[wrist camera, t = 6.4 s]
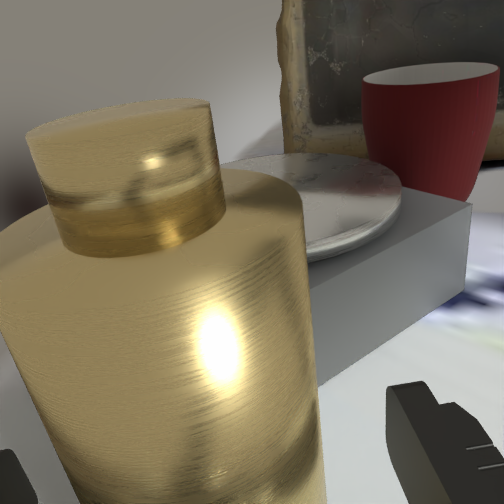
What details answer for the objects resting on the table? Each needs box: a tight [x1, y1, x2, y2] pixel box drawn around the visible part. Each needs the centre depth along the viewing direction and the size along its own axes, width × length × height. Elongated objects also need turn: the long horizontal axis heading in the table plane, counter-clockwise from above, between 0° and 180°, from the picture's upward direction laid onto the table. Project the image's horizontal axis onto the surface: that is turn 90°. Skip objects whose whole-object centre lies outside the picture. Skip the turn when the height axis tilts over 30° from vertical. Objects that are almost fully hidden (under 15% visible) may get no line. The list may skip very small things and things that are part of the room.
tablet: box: [276, 0, 504, 161], centre depth 40 cm, size 33×14×25 cm, turn 87°
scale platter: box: [220, 153, 402, 263], centre depth 24 cm, size 13×13×1 cm
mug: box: [361, 62, 500, 202], centre depth 32 cm, size 10×8×10 cm
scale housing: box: [307, 186, 472, 387], centre depth 26 cm, size 14×15×5 cm
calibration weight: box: [0, 98, 327, 504], centre depth 10 cm, size 5×5×14 cm
